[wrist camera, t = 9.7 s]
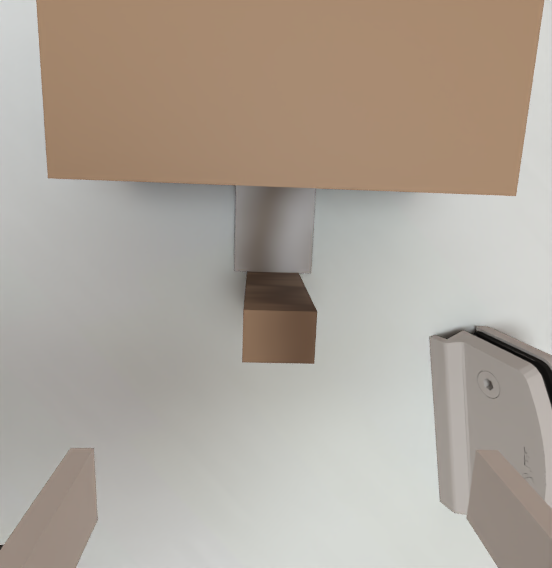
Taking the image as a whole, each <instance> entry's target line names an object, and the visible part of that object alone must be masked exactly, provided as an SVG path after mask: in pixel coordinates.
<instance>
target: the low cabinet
mask: <svg viewBox="0 0 552 568" xmlns="http://www.w3.org/2000/svg"><path fill="white" fill-rule="evenodd" d="M36 2H37V18H38V33H39V48H40V63H41V79H42V94H43V109H44V125H45V140H46V155H47V170H48V178H56V179H83V180H109V181H136V182H162V183H188V184H215V185H241V186H267V187H294V188H320V189H346V190H373V191H399V192H425V193H452V194H478V195H504V196H516V192H517V185H518V178H519V171H520V164H521V157H522V150H523V144H524V137H525V130H526V123H527V116H528V109H529V102H530V95H531V88H532V81H533V74H534V68H535V61H536V54H537V47H538V40H539V33H540V26H541V19H542V12H543V5H544V0H36Z"/></svg>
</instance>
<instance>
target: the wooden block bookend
mask: <svg viewBox="0 0 552 568" xmlns="http://www.w3.org/2000/svg"><path fill="white" fill-rule="evenodd" d="M315 194H316V188H294V187H267V186H241V185H236V208H235V260H234V271H247V279H246V289H245V300H244V311H243V353H242V362H258V363H309V364H314V357H315V340H316V323H317V310H316V308H315V306H314V304H313V302H312V300H311V298H310V296H309V294H308V292H307V290H306V288H305V286H304V283H303V281H302V279H301V277H300V275H299V273H311V267H312V249H313V230H314V212H315Z"/></svg>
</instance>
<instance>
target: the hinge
mask: <svg viewBox="0 0 552 568" xmlns="http://www.w3.org/2000/svg"><path fill="white" fill-rule="evenodd" d="M429 340H430V355H431V370H432V386H433V401H434V416H435V432H436V447H437V462H438V478H439V493H440V502H441V503H442V504H444V505H445V506H446V507H447V508H449V509H450V510H451V511H452V512H454V513H457V514H465V515H467V510H468V503H469V496H470V489H471V482H472V475H473V468H474V461H475V454H476V450H498V451H499V452H500V453H501V454H502V455H503V456H504V458H505V459H506V460H507V461H508V462H509V463H510V464H511V465H512V466H513V467H514V468H515V469H516V471H517V472H518V473H519V474H520V475H521V476H522V477H523V478H524V479H525V480H526V481H527V482H528V484H529V485H530V486H531V487H532V488H533V489H534V490H535V491H536V492H537V493H538V494H539V495H540V497H541V498H542V499H543V500H544V501H545V502H546V503H547V504H548V505H549V506H550V507H551V509H552V355H550V354H548V353H545V352H543V351H541V350H539V349H536V348H534V347H532V346H530V345H528V344H525V343H523V342H521V341H519V340H517V339H514V338H512V337H510V336H508V335H506V334H503V333H501V332H499V331H497V330H495V329H492V328H490V327H486V326H476V332H475V335H473V334H471V333H468V332H466V331H464V330H463V331H461V332H459V333H457V334H456V335H454V336H452V337H450V338H448V339H445V338H442V337H439V336H437V335H433V336H430V337H429Z"/></svg>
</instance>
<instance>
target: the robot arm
mask: <svg viewBox="0 0 552 568" xmlns="http://www.w3.org/2000/svg"><path fill="white" fill-rule="evenodd" d="M97 520H98V517H97V498H96V480H95V461H94V448H70V449H69V451H68V452H67V454H66V455H65V457H64V458H63V460H62V461H61V463H60V464H59V465H58V467H57V468H56V470H55V471H54V473H53V474H52V476H51V477H50V479H49V480H48V481H47V483H46V484H45V486H44V487H43V489H42V490H41V492H40V493H39V495H38V496H37V497H36V499H35V500H34V502H33V503H32V505H31V506H30V508H29V509H28V511H27V512H26V513H25V515H24V516H23V518H22V519H21V521H20V522H19V524H18V525H17V526H16V528H15V529H14V531H13V532H12V534H11V535H10V537H9V538H8V540H7V541H6V542H5V544H4V545H0V568H76V566H77V564H78V562H79V559H80V557H81V555H82V553H83V551H84V548H85V546H86V544H87V542H88V540H89V538H90V535H91V533H92V531H93V529H94V527H95V525H96V522H97ZM467 520H468V521H469V523H470V524H471V526H472V528H473V529H474V531H475V532H476V534H477V535H478V537H479V538H480V540H481V542H482V543H483V545H484V546H485V548H486V549H487V551H488V552H489V554H490V556H491V557H492V559H493V560H494V562H495V563H496V565H497V567H498V568H552V509H551V507H550V506H549V505H548V504H547V503H546V502H545V501H544V500H543V499H542V498H541V497H540V495H539V494H538V493H537V492H536V491H535V490H534V489H533V488H532V487H531V486H530V485H529V484H528V482H527V481H526V480H525V479H524V478H523V477H522V476H521V475H520V474H519V473H518V472H517V471H516V469H515V468H514V467H513V466H512V465H511V464H510V463H509V462H508V461H507V460H506V459H505V458H504V456H503V455H502V454H501V453H500V452H499V451H498V450H476V454H475V461H474V468H473V475H472V482H471V489H470V496H469V503H468V510H467Z"/></svg>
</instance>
